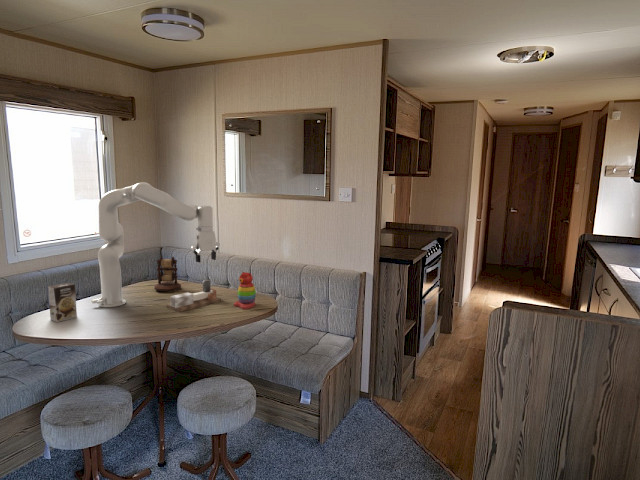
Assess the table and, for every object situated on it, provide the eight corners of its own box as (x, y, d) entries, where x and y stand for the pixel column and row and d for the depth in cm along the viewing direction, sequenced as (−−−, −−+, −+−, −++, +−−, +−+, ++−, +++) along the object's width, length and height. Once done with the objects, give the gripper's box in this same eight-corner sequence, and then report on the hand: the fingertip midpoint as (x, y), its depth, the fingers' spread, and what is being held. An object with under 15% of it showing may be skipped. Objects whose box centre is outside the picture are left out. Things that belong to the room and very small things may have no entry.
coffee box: (57, 322, 193) (54, 288, 190) (50, 319, 196) (47, 286, 194) (77, 317, 201) (75, 284, 198) (70, 314, 204) (67, 282, 201)
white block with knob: (191, 301, 220) (190, 285, 219) (186, 300, 223) (186, 283, 221) (213, 296, 231) (213, 280, 230) (209, 294, 234) (209, 278, 232)
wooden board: (179, 311, 211) (178, 299, 210) (166, 306, 219) (165, 295, 218) (221, 300, 230) (220, 289, 229) (207, 296, 238) (207, 285, 237)
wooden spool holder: (184, 286, 257) (183, 254, 254) (177, 293, 243) (176, 259, 240) (159, 286, 256) (157, 254, 253) (150, 293, 242) (149, 258, 239)
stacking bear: (232, 305, 223) (231, 272, 221) (247, 301, 231) (247, 269, 228) (244, 310, 216) (244, 276, 213) (260, 305, 223) (260, 272, 220)
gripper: (195, 231, 215) (196, 264, 218) (223, 228, 229) (223, 259, 231) (187, 229, 220) (187, 262, 223) (214, 227, 233) (215, 257, 236)
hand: (206, 260), depth 227 cm, fingers open, 9 cm apart
